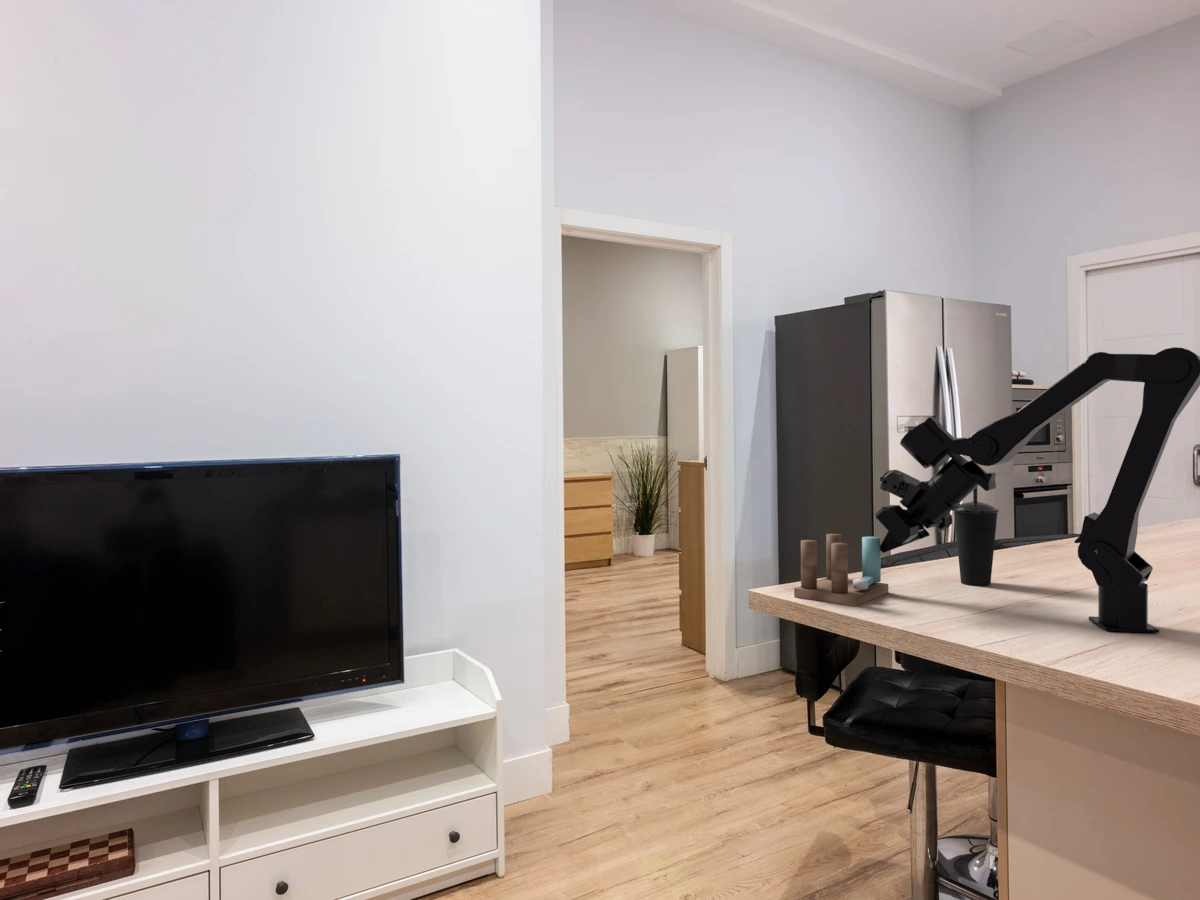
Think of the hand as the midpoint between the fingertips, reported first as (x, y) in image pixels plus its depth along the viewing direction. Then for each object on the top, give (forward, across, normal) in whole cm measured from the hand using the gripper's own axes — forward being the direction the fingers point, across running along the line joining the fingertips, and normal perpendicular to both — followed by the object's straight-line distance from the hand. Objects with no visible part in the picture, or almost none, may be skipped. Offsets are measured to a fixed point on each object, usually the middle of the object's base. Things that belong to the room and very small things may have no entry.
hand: (881, 550), depth 131 cm
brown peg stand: (+8, +6, +2) cm, 10 cm away
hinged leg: (+4, +4, +3) cm, 7 cm away
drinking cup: (-1, -18, +12) cm, 22 cm away
